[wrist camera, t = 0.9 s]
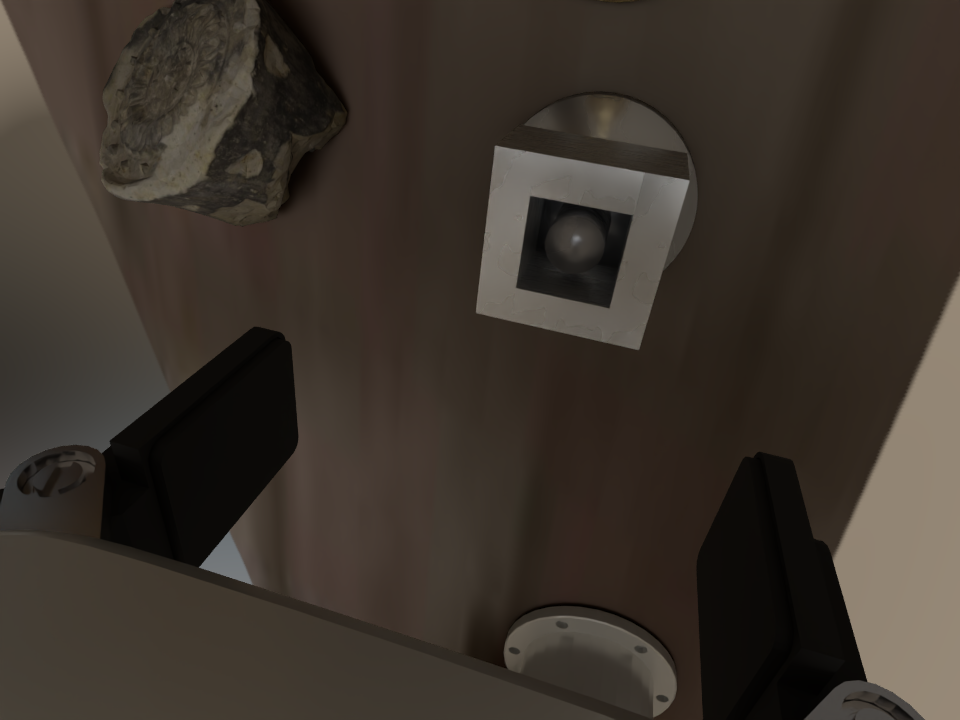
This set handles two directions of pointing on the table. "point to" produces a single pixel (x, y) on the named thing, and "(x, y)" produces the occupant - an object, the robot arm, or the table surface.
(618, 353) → the table surface
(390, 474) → the table surface
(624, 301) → the square sleeve
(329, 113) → the fossil
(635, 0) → the hub
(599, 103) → the stand
